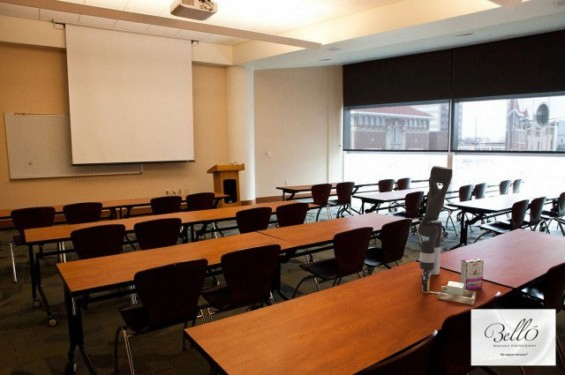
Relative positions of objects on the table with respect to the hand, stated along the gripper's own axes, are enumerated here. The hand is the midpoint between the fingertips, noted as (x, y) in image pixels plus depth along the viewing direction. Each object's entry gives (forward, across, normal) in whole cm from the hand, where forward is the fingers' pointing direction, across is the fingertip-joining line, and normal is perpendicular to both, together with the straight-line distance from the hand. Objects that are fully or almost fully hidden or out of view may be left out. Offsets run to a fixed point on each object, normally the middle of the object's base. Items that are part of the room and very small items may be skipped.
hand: (425, 290), depth 224 cm
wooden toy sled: (+1, 0, -15) cm, 15 cm away
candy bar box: (+1, +18, -21) cm, 28 cm away
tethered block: (+1, 0, -9) cm, 9 cm away
